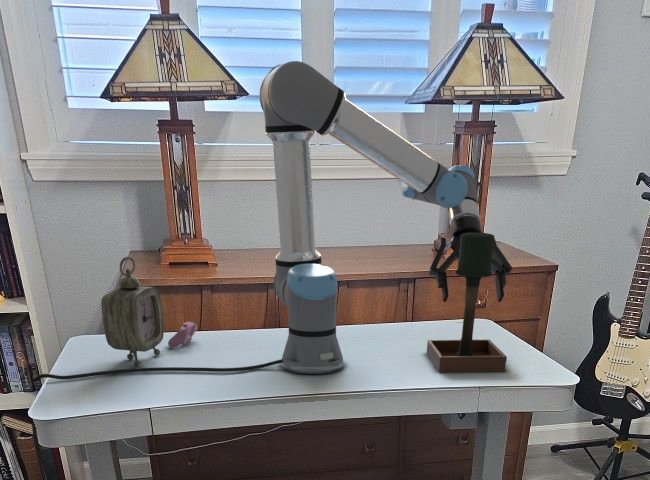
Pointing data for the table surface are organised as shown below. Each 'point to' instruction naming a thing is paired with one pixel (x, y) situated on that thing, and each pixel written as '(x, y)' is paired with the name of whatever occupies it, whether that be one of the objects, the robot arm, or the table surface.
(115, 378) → the table surface
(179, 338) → the pink toy shoe
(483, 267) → the potato masher grenade
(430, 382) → the table surface
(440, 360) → the holder
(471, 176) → the robot arm
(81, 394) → the table surface
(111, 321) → the tabletop clock
